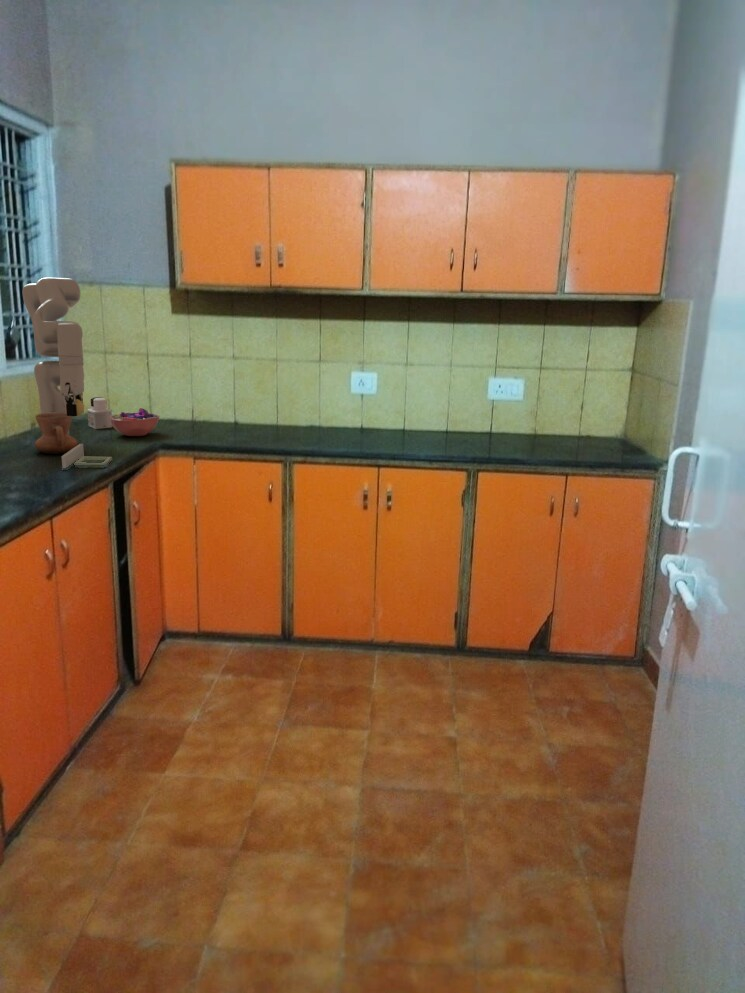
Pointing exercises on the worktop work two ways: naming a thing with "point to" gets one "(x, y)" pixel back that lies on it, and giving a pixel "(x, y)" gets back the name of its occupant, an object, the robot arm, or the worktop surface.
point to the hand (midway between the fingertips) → (75, 413)
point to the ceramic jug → (55, 433)
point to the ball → (78, 407)
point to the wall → (72, 455)
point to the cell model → (135, 423)
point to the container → (99, 414)
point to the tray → (79, 462)
